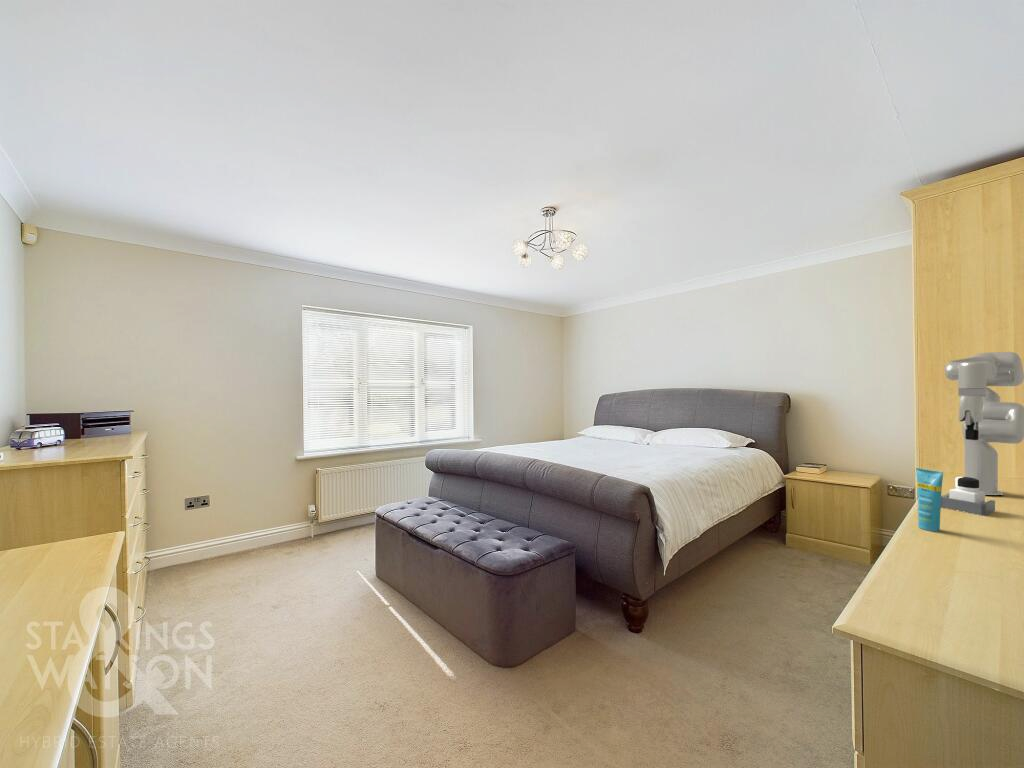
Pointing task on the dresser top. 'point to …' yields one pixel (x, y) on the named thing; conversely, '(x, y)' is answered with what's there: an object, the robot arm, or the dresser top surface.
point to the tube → (929, 499)
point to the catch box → (968, 505)
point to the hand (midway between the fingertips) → (971, 439)
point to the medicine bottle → (967, 490)
